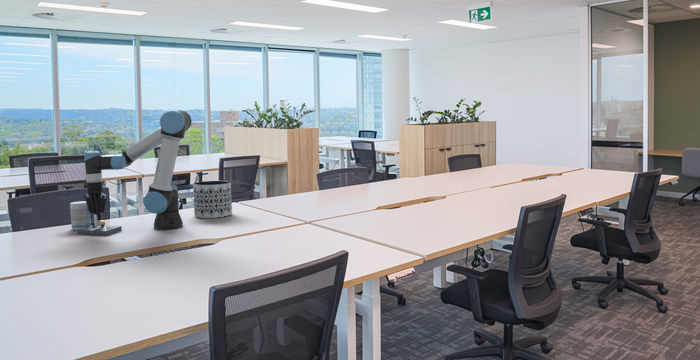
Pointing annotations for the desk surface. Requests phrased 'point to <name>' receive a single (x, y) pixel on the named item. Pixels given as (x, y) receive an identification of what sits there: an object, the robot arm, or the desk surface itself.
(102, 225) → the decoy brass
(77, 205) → the supplement tub
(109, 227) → the plate
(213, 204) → the planter
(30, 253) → the desk surface
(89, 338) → the desk surface
